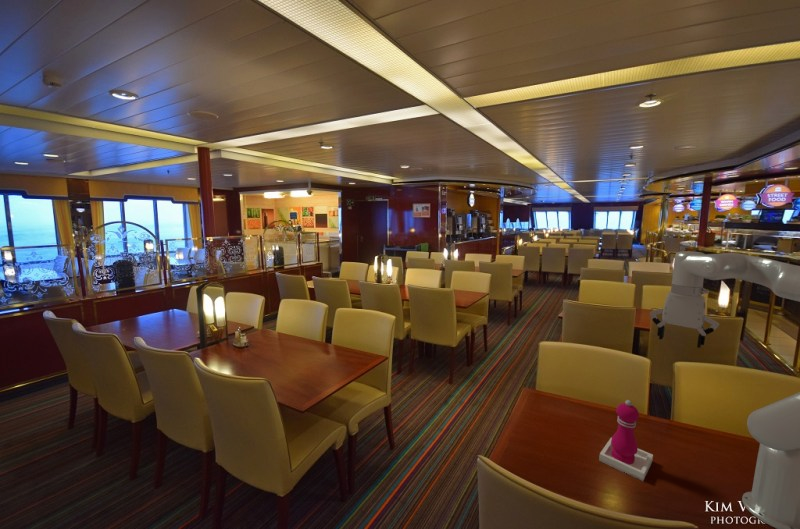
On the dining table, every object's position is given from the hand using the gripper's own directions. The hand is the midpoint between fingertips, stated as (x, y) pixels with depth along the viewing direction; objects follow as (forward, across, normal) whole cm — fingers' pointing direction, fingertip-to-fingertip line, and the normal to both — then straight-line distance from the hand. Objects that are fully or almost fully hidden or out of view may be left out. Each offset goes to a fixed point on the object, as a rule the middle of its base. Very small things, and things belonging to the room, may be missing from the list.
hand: (679, 342), depth 111 cm
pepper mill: (+38, +9, +16) cm, 42 cm away
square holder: (+38, +8, +16) cm, 42 cm away
